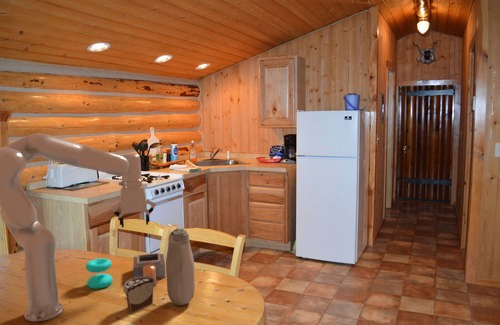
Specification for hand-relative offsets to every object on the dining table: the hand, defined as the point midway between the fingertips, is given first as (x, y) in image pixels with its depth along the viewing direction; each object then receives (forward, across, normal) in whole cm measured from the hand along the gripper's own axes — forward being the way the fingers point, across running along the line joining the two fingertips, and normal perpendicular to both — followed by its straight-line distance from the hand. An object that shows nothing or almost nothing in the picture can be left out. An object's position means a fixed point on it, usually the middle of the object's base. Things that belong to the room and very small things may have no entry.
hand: (135, 225), depth 169 cm
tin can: (+25, +4, -5) cm, 26 cm away
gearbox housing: (+25, +5, +8) cm, 26 cm away
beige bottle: (+25, +15, -24) cm, 38 cm away
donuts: (+25, -16, +3) cm, 29 cm away
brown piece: (+25, -1, -22) cm, 33 cm away
